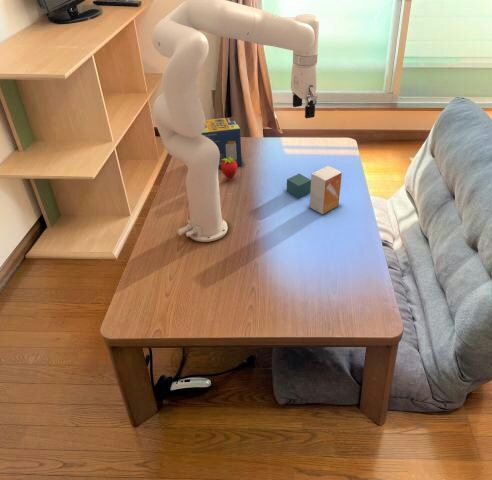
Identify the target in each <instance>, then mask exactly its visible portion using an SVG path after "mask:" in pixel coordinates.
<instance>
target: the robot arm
mask: <svg viewBox="0 0 492 480" xmlns="http://www.w3.org/2000/svg"><path fill="white" fill-rule="evenodd" d="M319 30H320V20H319V18H318V17H317V15H314V14H310V13H309V14H308V13H302V14H298V15H296V16H288V17H287V16H286V17H284V16H279V15H277V14H273V13H271V12H269V11H266V10H263V9H260V8H257V7H253V6H249V5H246V4H241V3H238V2H233V1H231V0H184V1H183V2H181V3H180V4H179V5H178V6H177V7H175V8H174V9H173V10H171V11H170V12H169V13H168V14H166V15H165V16H164V17H163V18H161V19H160V20H159V21H158V22H157V23H156V25H155V26H154V28H153V30H152V32H151V43H152V46H153V47H154V50H156V52H157V53H159V55H162V56H163V57H166V58H168V59H169V60H168V62H167V65H166V66H165V68H164V70H163V73H162V76H161V89H162V93H161V94H159V95H158V96H157V98H155V101H154V103H153V107H152V115H153V120H154V123H155V126H156V128H157V131H158V133H159V136H160V139H161V142H162V144H163V146H164V147H163V148H164V149H165V151H166V152H167V154H168V155H169V156H171V157H172V158H174V159H175V160H177V161H179V162H180V163H182V164H183V165H185V166H186V168H187V174H186V176H185V190H186V196H187V204H188V213H189V218H190V219H188V220H187V224H185V226H184V227H180V228H178V229H177V230H176V232H177V234H178V236H182V235H184V234H185V236H186V237H187V238H190V239H192V240H193V241H196V242H202V243H209V242H213V241H214V242H215V241H217V240H220V239H222V238H223V237H225V236H226V234H227V232H228V230H229V229H228V223H227V221H226V220H225V219H223V217H222V204H221V194H220V181H219V169H218V167H219V160H220V152H219V149H218V147H217V145H216V144H215V143H214V142H213V141H212V140H210V139H209V138H207V137H205V136H203V135H201V134H202V133H203V131H204V129H205V125H206V121H205V120H206V115H205V112H204V108H203V105H202V102H201V101H202V100H201V98H200V94H199V91H198V86H197V78H198V74H199V72H200V70H201V68H202V66H203V65H204V63H206V60H207V57H208V56H209V49H210V47H209V41H208V38H207V37H206V36H205V35H204V34H203V32H205V33H207V34H210V35H213V36H217V37H221V38H226V39H232V40H233V39H234V40H238V41H243V42H247V43H252V44H257V45H260V46H261V45H262V46H269V47H274V48H278V49H284V50H288V51H292V67H291V76H290V89H291V93H292V107H293V108H297V107H299V108H300V107H302V106H303V100H304V101H305V106H304V118H305V119H312V118H315V116H316V115H315V114H316V106H317V102H318V94H317V65H318V56H319V55H318V54H319V53H318V51H319V49H318V48H319V35H320V34H319V33H320V31H319Z"/></svg>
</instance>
